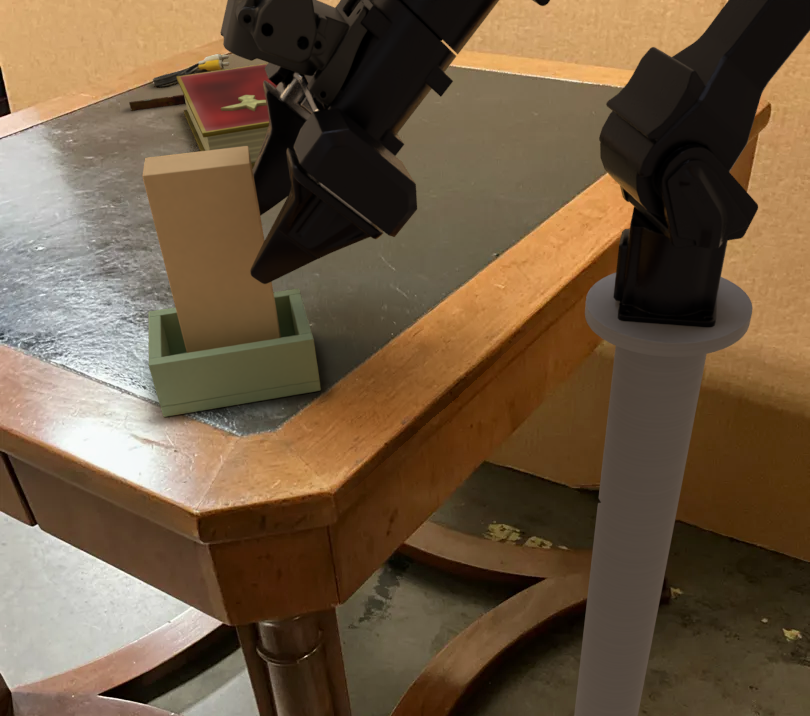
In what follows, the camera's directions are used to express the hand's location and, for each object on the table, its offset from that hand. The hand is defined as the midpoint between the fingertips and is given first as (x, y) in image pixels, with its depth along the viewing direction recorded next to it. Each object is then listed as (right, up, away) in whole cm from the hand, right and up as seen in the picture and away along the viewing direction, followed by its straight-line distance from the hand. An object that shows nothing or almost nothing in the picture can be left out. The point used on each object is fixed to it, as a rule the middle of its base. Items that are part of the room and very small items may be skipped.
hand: (249, 245), depth 54 cm
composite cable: (-18, +41, +59) cm, 74 cm away
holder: (-2, -7, +6) cm, 9 cm away
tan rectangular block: (-2, -6, +6) cm, 8 cm away
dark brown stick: (-15, +34, +52) cm, 64 cm away
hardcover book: (-7, +26, +42) cm, 50 cm away
